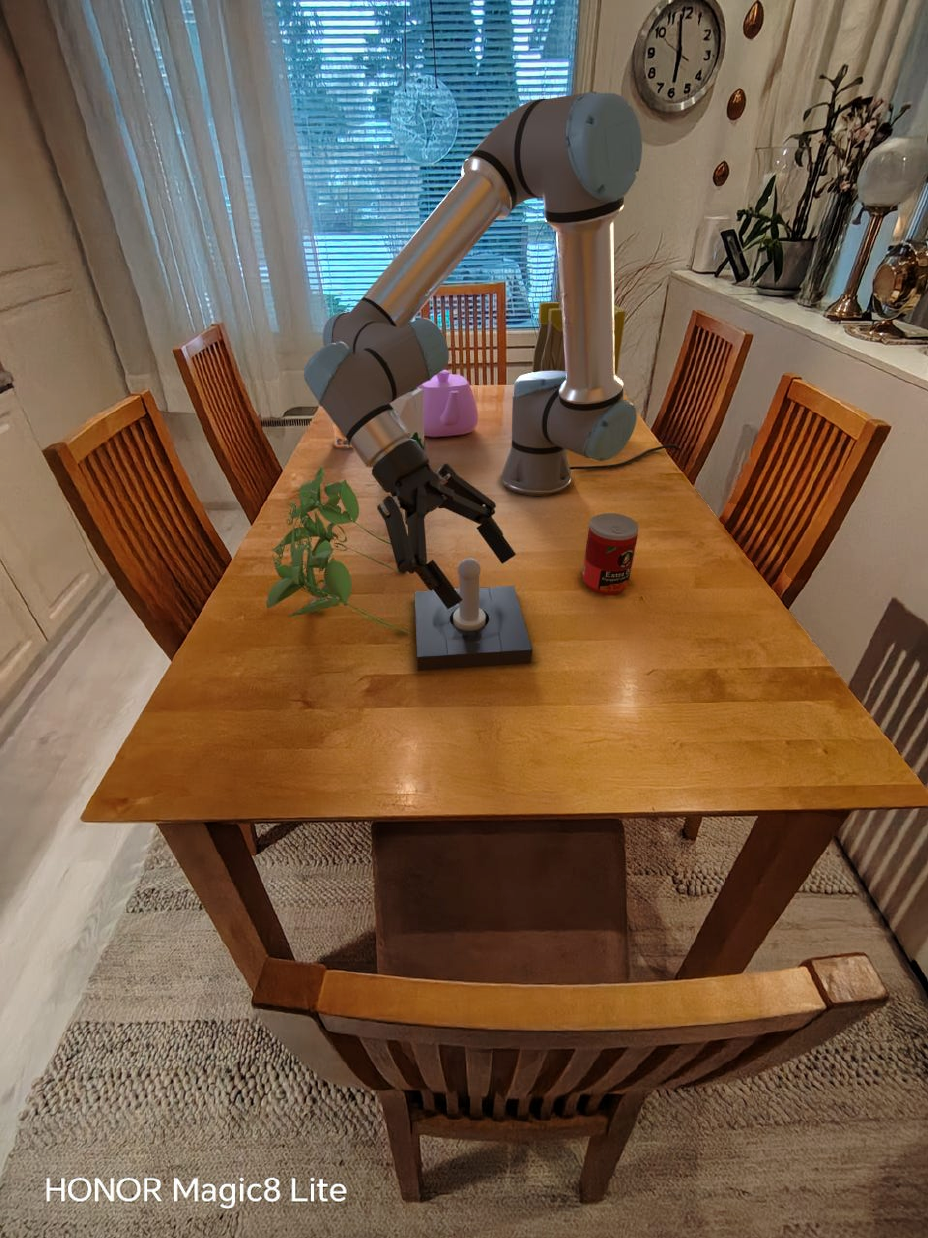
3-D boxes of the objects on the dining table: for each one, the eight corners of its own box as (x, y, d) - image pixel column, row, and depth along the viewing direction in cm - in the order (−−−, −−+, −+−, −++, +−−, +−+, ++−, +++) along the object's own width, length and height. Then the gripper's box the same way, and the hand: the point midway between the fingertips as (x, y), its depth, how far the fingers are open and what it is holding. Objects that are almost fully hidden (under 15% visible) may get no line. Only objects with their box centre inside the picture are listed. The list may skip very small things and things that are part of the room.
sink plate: (513, 598, 96) (514, 585, 94) (531, 663, 83) (532, 649, 81) (415, 603, 95) (414, 591, 93) (418, 670, 82) (417, 657, 80)
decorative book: (598, 420, 163) (613, 298, 145) (611, 434, 155) (630, 306, 136) (527, 424, 161) (534, 301, 143) (537, 439, 152) (545, 310, 134)
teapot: (394, 423, 163) (389, 366, 154) (468, 417, 166) (468, 360, 157) (407, 454, 145) (402, 391, 136) (489, 446, 149) (490, 384, 140)
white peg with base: (483, 620, 91) (484, 550, 83) (487, 640, 87) (488, 568, 80) (452, 622, 91) (450, 551, 83) (454, 642, 87) (453, 570, 79)
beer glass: (354, 450, 147) (346, 388, 138) (328, 448, 149) (318, 386, 139) (363, 440, 153) (356, 380, 144) (338, 438, 154) (329, 378, 145)
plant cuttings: (376, 579, 113) (267, 521, 103) (427, 512, 105) (314, 443, 96) (371, 712, 85) (221, 649, 76) (439, 633, 78) (282, 553, 68)
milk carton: (430, 466, 139) (426, 378, 127) (413, 481, 132) (408, 389, 120) (397, 461, 141) (390, 374, 129) (379, 476, 135) (370, 385, 123)
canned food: (601, 600, 95) (611, 540, 88) (572, 576, 101) (579, 518, 94) (638, 588, 98) (650, 529, 91) (607, 565, 103) (617, 508, 97)
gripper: (432, 440, 90) (512, 552, 93) (313, 501, 74) (413, 635, 77) (460, 412, 85) (545, 532, 87) (337, 471, 69) (445, 617, 71)
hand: (483, 581), depth 82 cm, fingers open, 13 cm apart
